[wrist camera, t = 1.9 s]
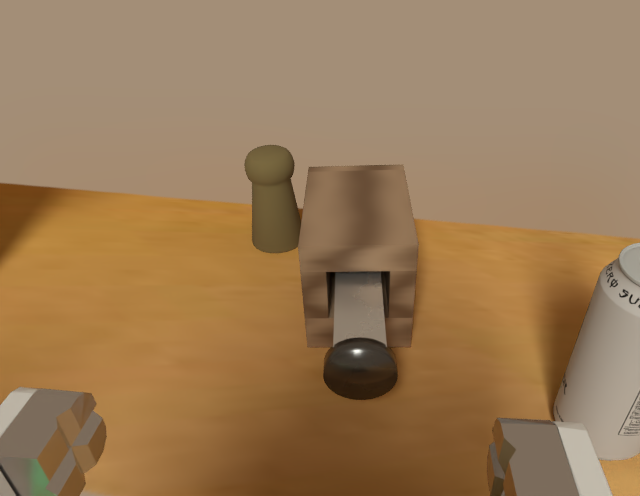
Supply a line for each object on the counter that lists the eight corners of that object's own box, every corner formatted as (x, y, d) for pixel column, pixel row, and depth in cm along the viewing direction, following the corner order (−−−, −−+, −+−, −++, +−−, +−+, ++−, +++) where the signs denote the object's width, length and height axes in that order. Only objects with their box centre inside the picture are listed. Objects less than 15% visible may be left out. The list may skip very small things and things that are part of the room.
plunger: (324, 399, 36) (321, 351, 33) (330, 283, 46) (327, 238, 43) (396, 399, 36) (399, 350, 33) (385, 283, 46) (386, 237, 43)
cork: (293, 218, 62) (285, 134, 55) (312, 244, 57) (305, 155, 51) (246, 231, 60) (231, 145, 54) (261, 258, 56) (247, 168, 49)
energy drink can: (585, 382, 40) (647, 225, 31) (660, 440, 36) (757, 276, 27) (532, 418, 38) (584, 259, 29) (606, 484, 34) (693, 320, 25)
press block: (307, 347, 45) (298, 246, 38) (315, 258, 55) (308, 166, 49) (410, 346, 44) (418, 244, 38) (398, 256, 55) (403, 164, 48)
